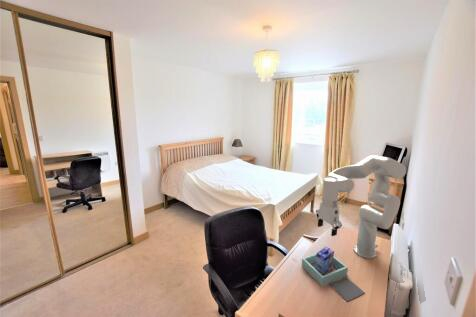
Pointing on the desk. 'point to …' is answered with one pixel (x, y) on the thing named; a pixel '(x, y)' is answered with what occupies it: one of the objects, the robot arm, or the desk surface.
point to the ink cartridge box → (324, 260)
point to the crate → (328, 277)
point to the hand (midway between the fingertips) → (326, 230)
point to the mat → (346, 289)
